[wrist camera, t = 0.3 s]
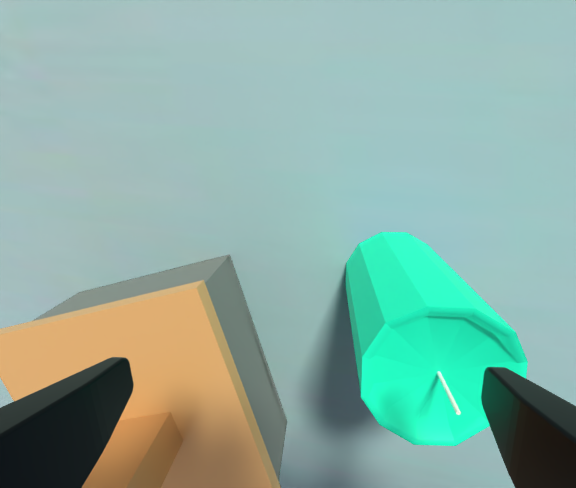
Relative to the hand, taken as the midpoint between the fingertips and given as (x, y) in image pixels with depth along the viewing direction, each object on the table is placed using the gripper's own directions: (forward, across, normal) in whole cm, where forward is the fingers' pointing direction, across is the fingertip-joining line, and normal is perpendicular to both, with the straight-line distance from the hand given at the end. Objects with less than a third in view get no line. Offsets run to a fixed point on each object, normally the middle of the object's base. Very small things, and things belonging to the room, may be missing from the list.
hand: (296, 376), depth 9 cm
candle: (+14, -5, +3) cm, 15 cm away
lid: (+9, +10, +9) cm, 17 cm away
